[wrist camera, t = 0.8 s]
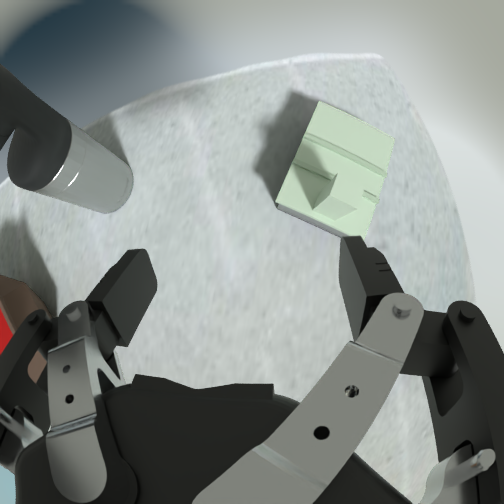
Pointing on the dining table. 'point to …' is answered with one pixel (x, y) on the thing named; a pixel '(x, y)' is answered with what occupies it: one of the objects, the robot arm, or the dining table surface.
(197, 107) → the dining table surface
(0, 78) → the robot arm
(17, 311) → the brown faceted pot
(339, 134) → the lid
